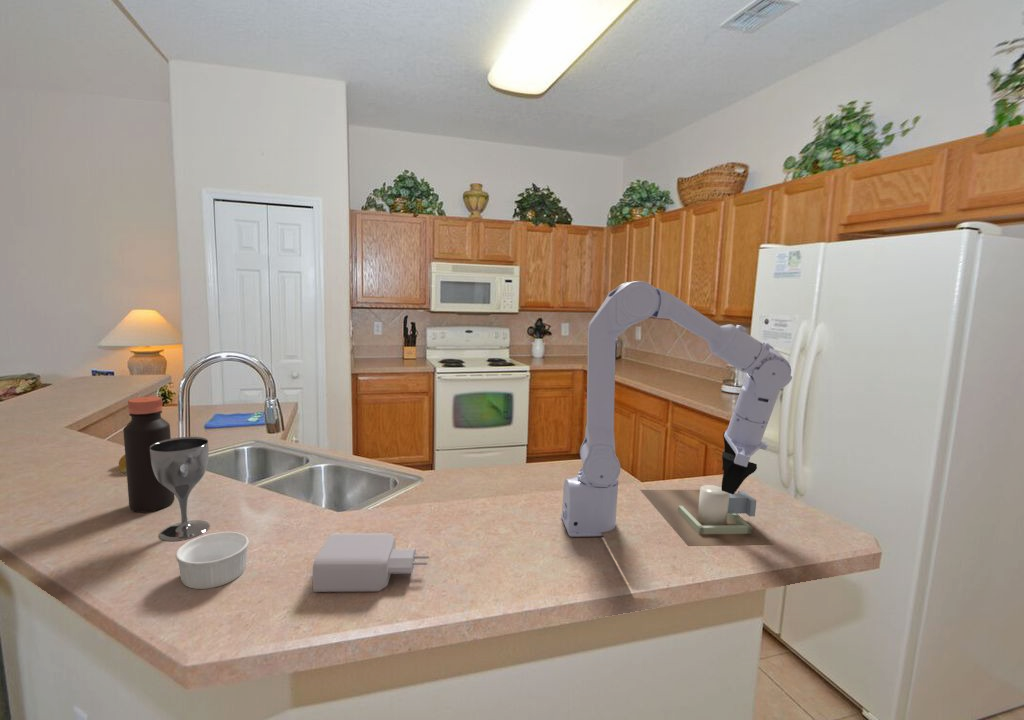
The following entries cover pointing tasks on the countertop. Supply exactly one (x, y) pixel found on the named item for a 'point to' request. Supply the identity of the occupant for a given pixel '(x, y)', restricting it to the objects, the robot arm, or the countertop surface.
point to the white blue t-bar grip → (722, 505)
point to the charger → (360, 562)
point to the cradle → (740, 528)
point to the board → (689, 500)
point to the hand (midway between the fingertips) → (727, 481)
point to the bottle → (145, 454)
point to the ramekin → (212, 559)
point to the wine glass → (181, 479)
